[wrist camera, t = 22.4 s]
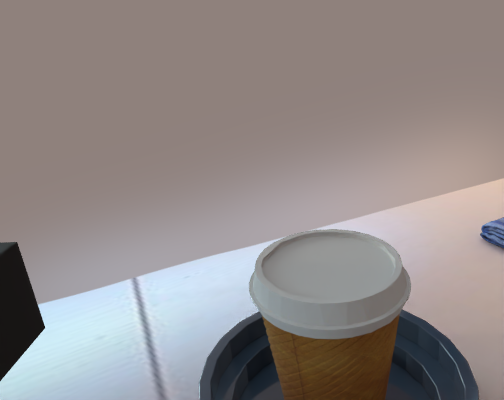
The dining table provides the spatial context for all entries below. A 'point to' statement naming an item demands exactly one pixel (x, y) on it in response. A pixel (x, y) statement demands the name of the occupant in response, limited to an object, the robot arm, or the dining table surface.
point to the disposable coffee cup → (331, 312)
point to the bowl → (400, 378)
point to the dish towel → (494, 232)
